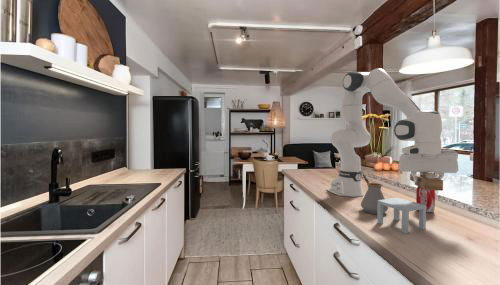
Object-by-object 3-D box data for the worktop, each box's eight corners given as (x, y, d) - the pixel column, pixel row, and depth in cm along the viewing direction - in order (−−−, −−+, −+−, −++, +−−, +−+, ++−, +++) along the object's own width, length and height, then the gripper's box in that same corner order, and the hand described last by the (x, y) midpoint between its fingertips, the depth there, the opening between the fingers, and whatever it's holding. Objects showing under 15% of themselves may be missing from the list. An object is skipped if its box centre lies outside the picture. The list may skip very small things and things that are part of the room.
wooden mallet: (405, 179, 115) (405, 166, 114) (419, 180, 113) (420, 167, 113) (424, 189, 94) (425, 174, 94) (442, 190, 93) (443, 174, 93)
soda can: (438, 213, 108) (438, 187, 108) (420, 212, 110) (420, 186, 109) (429, 208, 115) (430, 184, 115) (413, 208, 117) (413, 183, 116)
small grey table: (377, 222, 99) (377, 200, 98) (396, 218, 103) (396, 197, 102) (405, 233, 87) (406, 208, 87) (425, 229, 91) (426, 205, 91)
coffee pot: (392, 216, 106) (393, 182, 105) (365, 215, 107) (365, 182, 107) (374, 202, 127) (374, 174, 127) (351, 201, 129) (351, 174, 128)
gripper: (453, 149, 99) (452, 182, 100) (397, 148, 105) (397, 180, 105) (462, 150, 93) (461, 185, 93) (402, 149, 98) (401, 183, 99)
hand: (426, 182), depth 99 cm, fingers closed on wooden mallet, 6 cm apart
